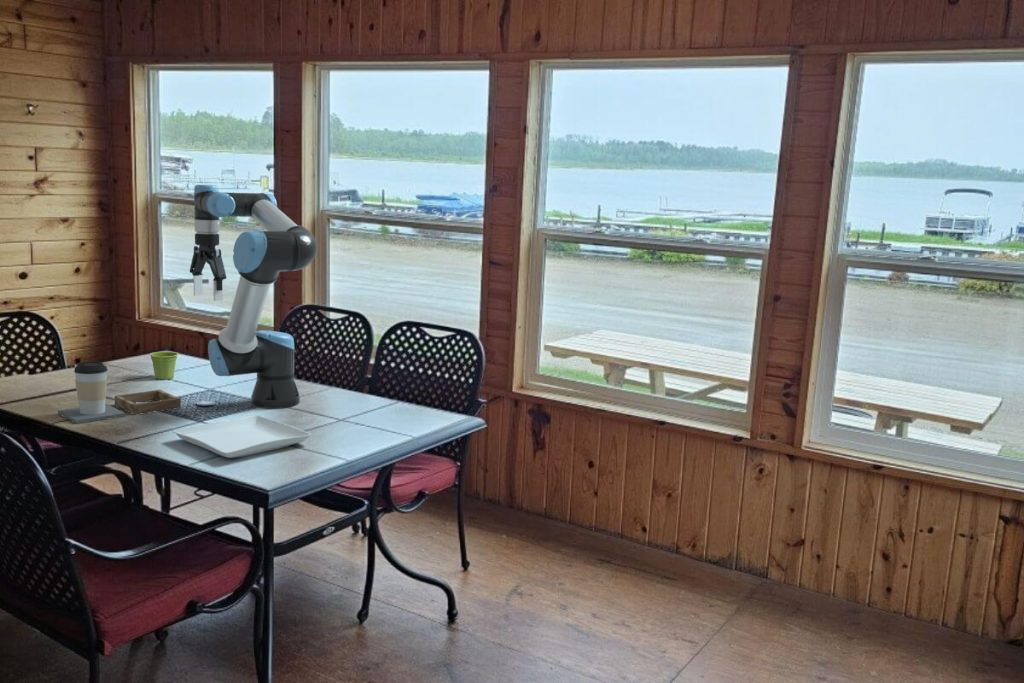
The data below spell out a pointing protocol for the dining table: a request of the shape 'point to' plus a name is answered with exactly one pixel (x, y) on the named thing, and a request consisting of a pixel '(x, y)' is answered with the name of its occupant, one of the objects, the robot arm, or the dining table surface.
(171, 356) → the plant pot
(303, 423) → the dining table surface
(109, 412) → the rubber mat
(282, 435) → the square plate
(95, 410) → the coffee cup
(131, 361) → the dining table surface
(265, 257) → the robot arm
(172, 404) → the brown wooden tray
